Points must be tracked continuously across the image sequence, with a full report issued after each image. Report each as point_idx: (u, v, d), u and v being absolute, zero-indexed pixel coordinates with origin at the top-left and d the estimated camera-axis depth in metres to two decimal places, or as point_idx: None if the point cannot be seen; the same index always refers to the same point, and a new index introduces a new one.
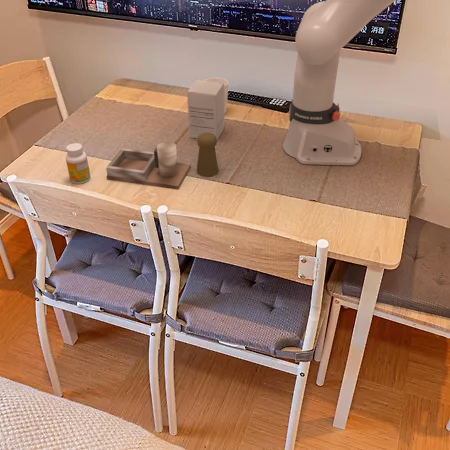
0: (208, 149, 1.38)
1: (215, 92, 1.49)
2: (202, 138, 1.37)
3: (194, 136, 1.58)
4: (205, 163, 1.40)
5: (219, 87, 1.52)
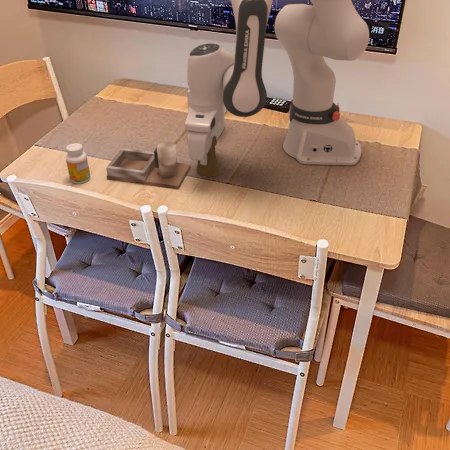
0: None
1: None
2: None
3: None
4: None
5: None
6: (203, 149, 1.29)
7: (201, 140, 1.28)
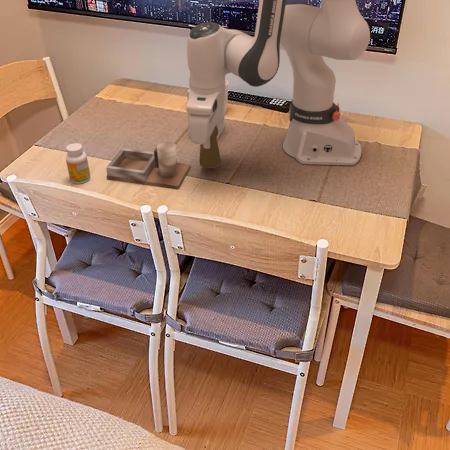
0: None
1: None
2: None
3: None
4: (207, 154, 1.39)
5: None
6: (205, 132, 1.26)
7: (203, 123, 1.25)
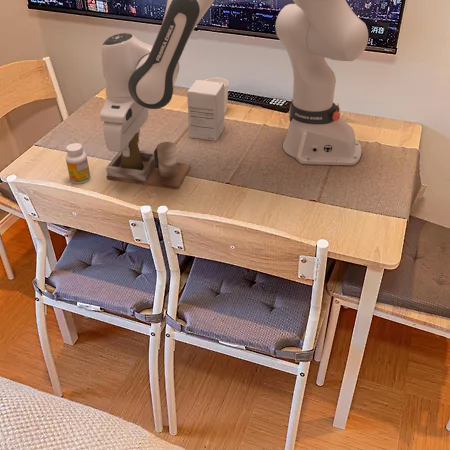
0: (129, 146, 1.37)
1: (215, 92, 1.49)
2: None
3: (194, 136, 1.58)
4: (127, 160, 1.39)
5: (219, 87, 1.52)
6: (119, 140, 1.27)
7: (116, 131, 1.26)
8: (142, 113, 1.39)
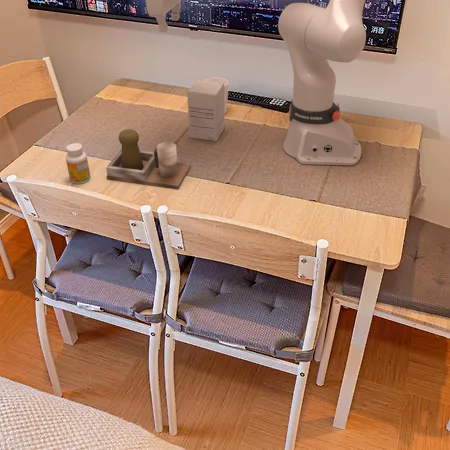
0: (129, 146, 1.37)
1: (215, 92, 1.49)
2: (123, 135, 1.36)
3: (194, 136, 1.58)
4: (127, 159, 1.39)
5: (219, 87, 1.52)
6: (161, 2, 1.23)
7: None
8: None
